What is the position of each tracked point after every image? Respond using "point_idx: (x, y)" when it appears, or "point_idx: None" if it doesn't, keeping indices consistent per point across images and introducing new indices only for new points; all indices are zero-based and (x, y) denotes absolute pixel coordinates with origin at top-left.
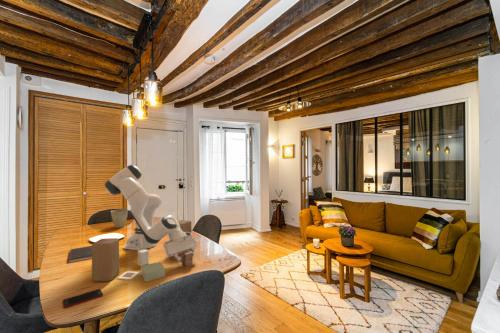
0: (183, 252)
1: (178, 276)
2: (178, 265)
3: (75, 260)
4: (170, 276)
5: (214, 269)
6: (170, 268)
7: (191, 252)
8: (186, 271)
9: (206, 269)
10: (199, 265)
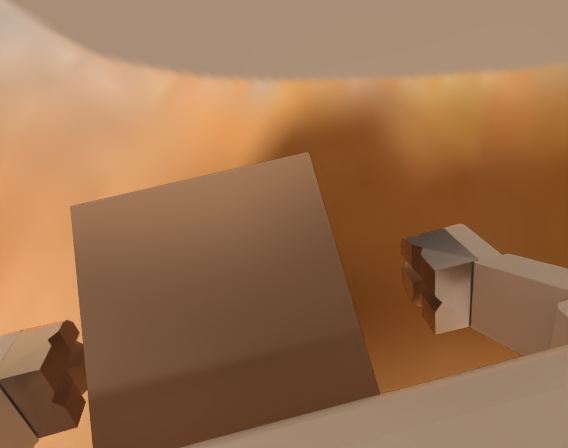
0: (315, 396)
1: (462, 77)
2: None
3: None
4: (557, 129)
5: (19, 15)
6: None
7: (94, 224)
8: (331, 149)
9: (92, 63)
10: None
